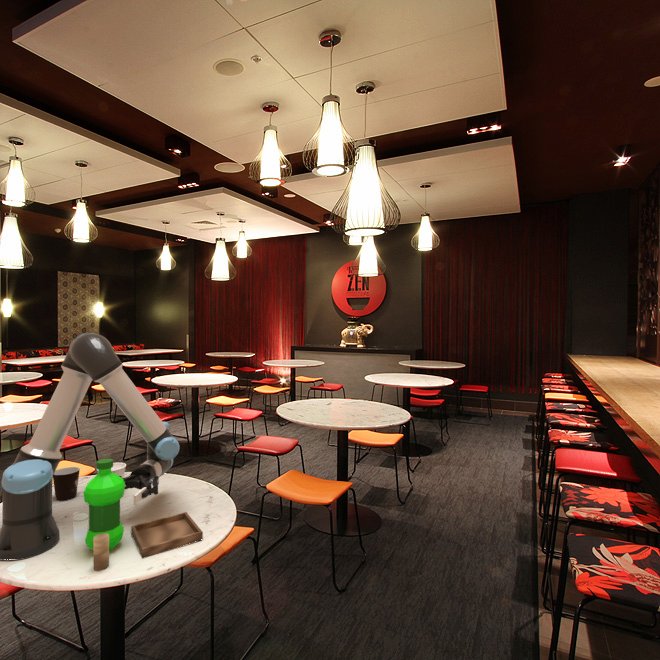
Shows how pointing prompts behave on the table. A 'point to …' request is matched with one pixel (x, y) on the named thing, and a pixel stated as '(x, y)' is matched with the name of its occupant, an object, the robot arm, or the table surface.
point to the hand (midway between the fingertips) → (111, 500)
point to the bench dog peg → (101, 551)
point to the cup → (118, 469)
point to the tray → (165, 534)
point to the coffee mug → (66, 483)
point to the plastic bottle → (104, 504)
